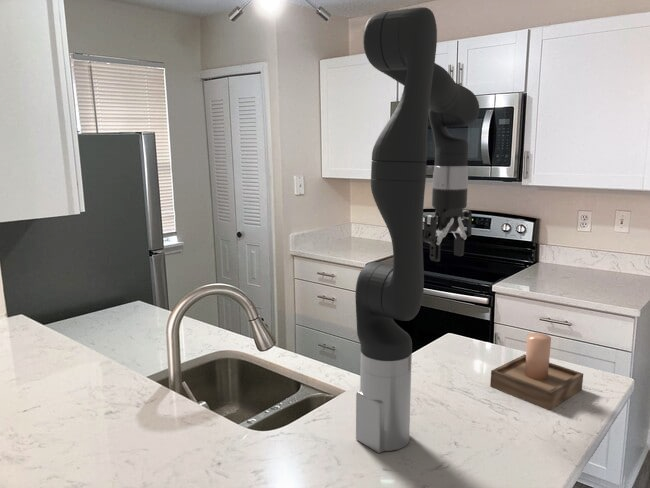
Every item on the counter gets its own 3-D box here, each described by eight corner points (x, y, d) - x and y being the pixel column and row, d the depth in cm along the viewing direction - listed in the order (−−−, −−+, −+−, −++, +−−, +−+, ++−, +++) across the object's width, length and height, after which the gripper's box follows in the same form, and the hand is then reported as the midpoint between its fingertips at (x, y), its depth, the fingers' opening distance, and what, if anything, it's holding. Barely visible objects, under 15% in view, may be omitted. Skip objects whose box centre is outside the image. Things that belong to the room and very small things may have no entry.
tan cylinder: (540, 382, 115) (544, 342, 113) (520, 374, 119) (523, 336, 117) (552, 375, 118) (555, 337, 116) (531, 368, 122) (534, 331, 120)
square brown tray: (550, 410, 109) (551, 393, 108) (490, 386, 120) (491, 370, 119) (581, 389, 118) (583, 373, 117) (523, 369, 129) (524, 354, 128)
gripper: (443, 189, 110) (440, 266, 113) (483, 185, 119) (479, 256, 122) (415, 187, 116) (413, 260, 119) (455, 183, 125) (452, 251, 128)
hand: (447, 258), depth 121 cm, fingers open, 8 cm apart
